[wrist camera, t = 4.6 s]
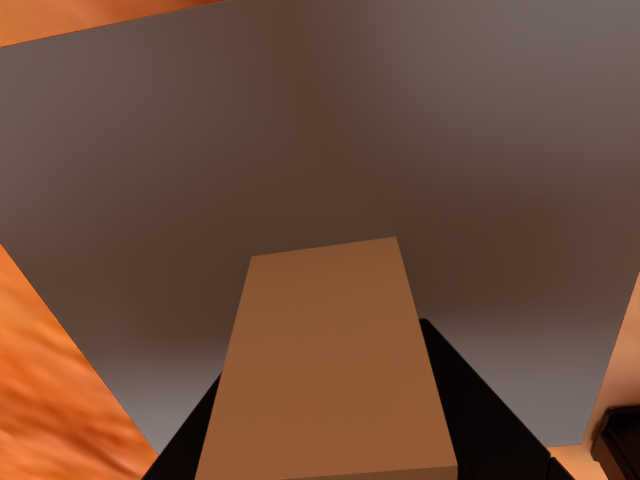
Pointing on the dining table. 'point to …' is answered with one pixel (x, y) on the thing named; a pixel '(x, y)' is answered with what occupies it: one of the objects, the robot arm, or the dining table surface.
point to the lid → (332, 217)
